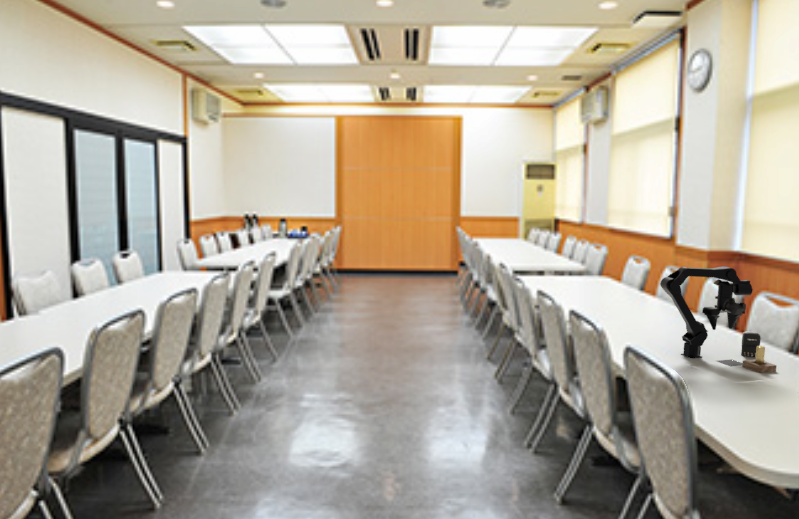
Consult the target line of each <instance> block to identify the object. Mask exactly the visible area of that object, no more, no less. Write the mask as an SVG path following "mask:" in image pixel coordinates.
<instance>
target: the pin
mask: <svg viewBox="0 0 799 519" xmlns="http://www.w3.org/2000/svg"><path fill="white" fill-rule="evenodd" d="M765 352H766V347H765V346H763V345H759V346H757V348H756V358H755V359H754V360H755V363H756V364H759V365H764V362H765V354H766V353H765Z"/></svg>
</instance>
